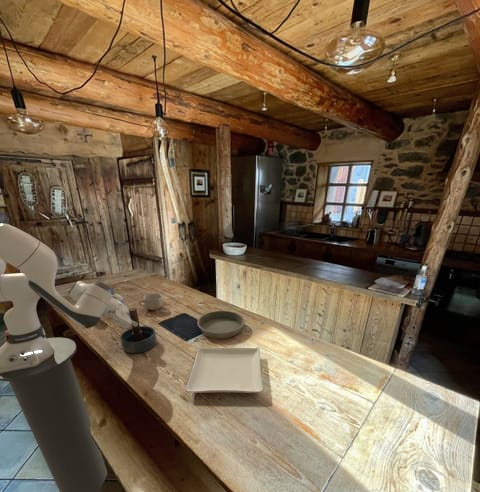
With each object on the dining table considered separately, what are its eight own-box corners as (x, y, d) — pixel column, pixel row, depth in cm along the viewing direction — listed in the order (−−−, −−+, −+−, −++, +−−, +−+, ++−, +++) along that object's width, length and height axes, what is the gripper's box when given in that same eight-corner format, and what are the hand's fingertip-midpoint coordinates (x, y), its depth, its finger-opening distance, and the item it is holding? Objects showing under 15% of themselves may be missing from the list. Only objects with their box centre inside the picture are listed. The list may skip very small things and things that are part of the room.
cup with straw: (107, 316, 154) (100, 287, 146) (123, 311, 159) (117, 283, 152) (113, 321, 148) (106, 291, 140) (129, 316, 153) (123, 287, 146)
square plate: (259, 354, 118) (259, 346, 116) (262, 399, 93) (263, 391, 91) (198, 354, 118) (198, 346, 117) (185, 398, 93) (184, 390, 92)
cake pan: (204, 345, 125) (204, 336, 123) (193, 322, 146) (192, 315, 144) (252, 334, 133) (252, 326, 131) (234, 314, 154) (234, 307, 152)
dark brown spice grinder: (134, 343, 124) (128, 312, 117) (132, 338, 127) (126, 308, 121) (144, 340, 126) (139, 309, 120) (142, 336, 130) (136, 306, 123)
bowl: (126, 358, 116) (123, 346, 114) (120, 342, 128) (117, 331, 125) (160, 347, 123) (159, 336, 121) (151, 333, 135) (149, 323, 133)
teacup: (161, 303, 170) (160, 291, 167) (165, 309, 161) (163, 297, 158) (138, 307, 165) (136, 295, 161) (141, 314, 156) (138, 302, 152)
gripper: (114, 311, 107) (143, 327, 115) (112, 294, 124) (138, 309, 132) (104, 323, 107) (134, 338, 115) (104, 304, 124) (130, 319, 132)
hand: (136, 322), depth 123 cm, fingers closed on dark brown spice grinder, 3 cm apart
